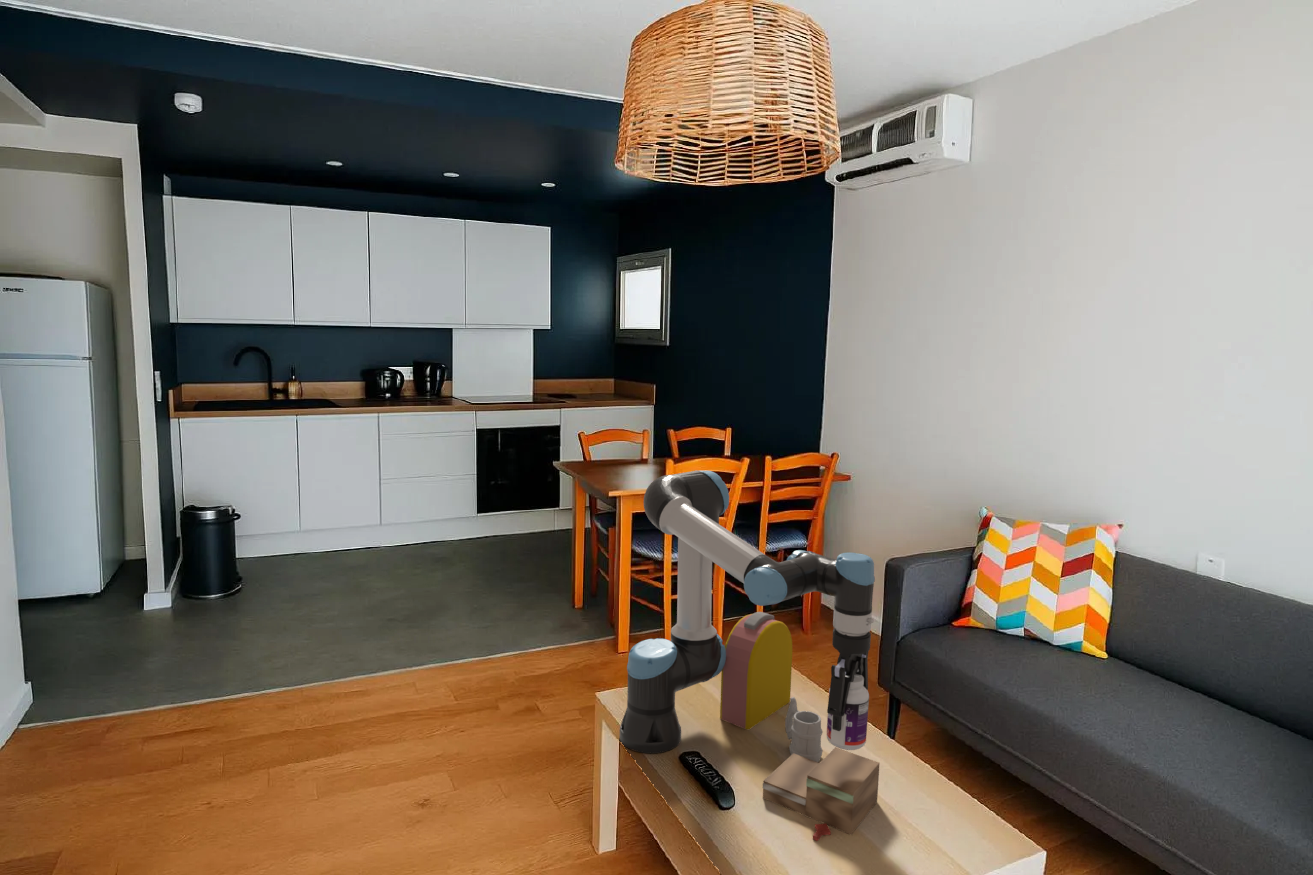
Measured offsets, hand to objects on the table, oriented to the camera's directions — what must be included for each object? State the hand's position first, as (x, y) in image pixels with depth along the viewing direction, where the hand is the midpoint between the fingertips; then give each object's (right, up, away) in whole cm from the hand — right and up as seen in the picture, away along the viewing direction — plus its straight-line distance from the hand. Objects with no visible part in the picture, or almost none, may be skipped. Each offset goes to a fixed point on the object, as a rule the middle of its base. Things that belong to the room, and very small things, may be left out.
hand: (846, 734), depth 162 cm
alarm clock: (-13, -11, +45) cm, 48 cm away
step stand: (-6, -16, +3) cm, 18 cm away
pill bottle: (0, -2, 0) cm, 2 cm away
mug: (-5, -14, +24) cm, 28 cm away
